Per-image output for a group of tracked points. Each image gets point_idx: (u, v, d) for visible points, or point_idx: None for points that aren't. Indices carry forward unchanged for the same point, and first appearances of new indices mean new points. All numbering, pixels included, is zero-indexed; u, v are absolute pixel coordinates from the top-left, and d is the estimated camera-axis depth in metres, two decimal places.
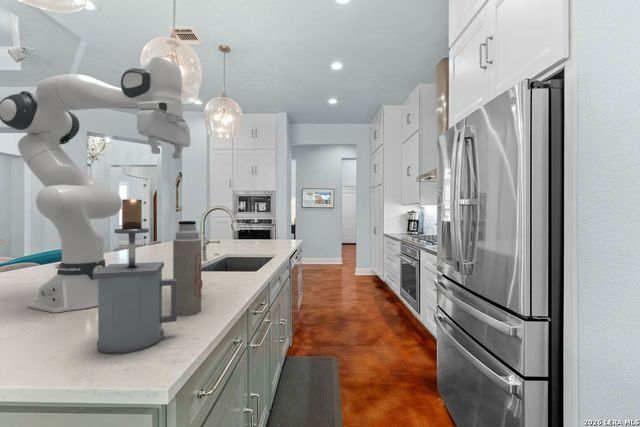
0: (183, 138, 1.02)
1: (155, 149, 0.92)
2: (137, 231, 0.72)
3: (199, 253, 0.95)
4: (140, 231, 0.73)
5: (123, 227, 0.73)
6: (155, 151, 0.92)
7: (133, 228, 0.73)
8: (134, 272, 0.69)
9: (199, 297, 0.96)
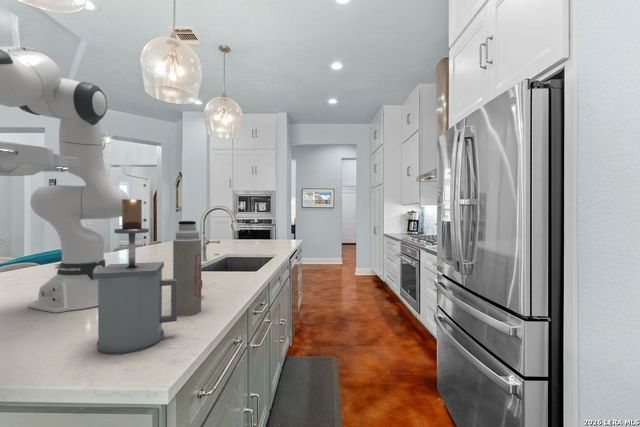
0: (33, 167, 0.57)
1: None
2: (137, 231, 0.72)
3: (199, 253, 0.95)
4: (140, 231, 0.73)
5: (123, 227, 0.73)
6: None
7: (133, 228, 0.73)
8: (134, 272, 0.69)
9: (199, 297, 0.96)
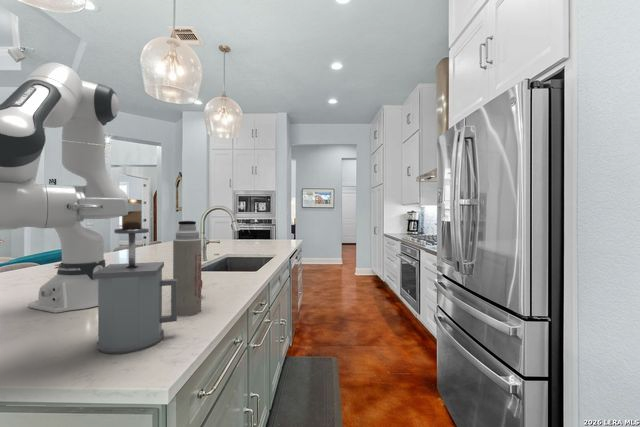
0: None
1: None
2: (137, 231, 0.72)
3: (199, 253, 0.95)
4: (140, 231, 0.73)
5: (123, 227, 0.73)
6: None
7: (133, 228, 0.73)
8: (134, 272, 0.69)
9: (199, 297, 0.96)
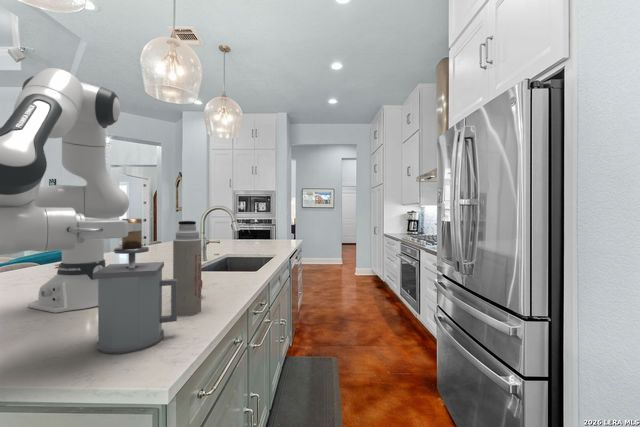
0: None
1: None
2: (137, 251, 0.72)
3: (199, 253, 0.95)
4: (140, 251, 0.73)
5: (123, 247, 0.73)
6: None
7: (133, 248, 0.73)
8: (134, 272, 0.69)
9: (199, 297, 0.96)
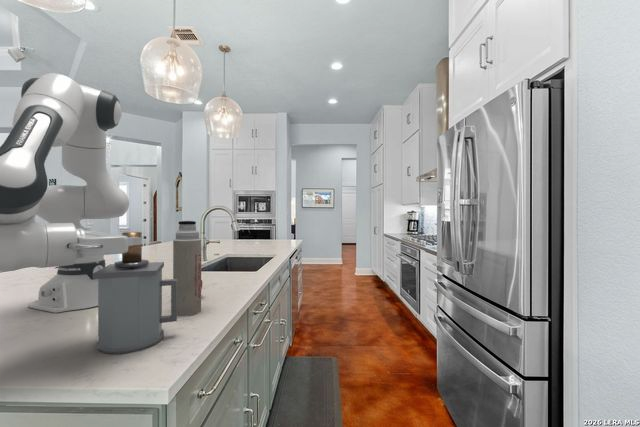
0: None
1: None
2: (137, 265, 0.72)
3: (199, 253, 0.95)
4: (140, 265, 0.73)
5: (123, 261, 0.73)
6: None
7: (133, 261, 0.73)
8: (134, 272, 0.69)
9: (199, 297, 0.96)
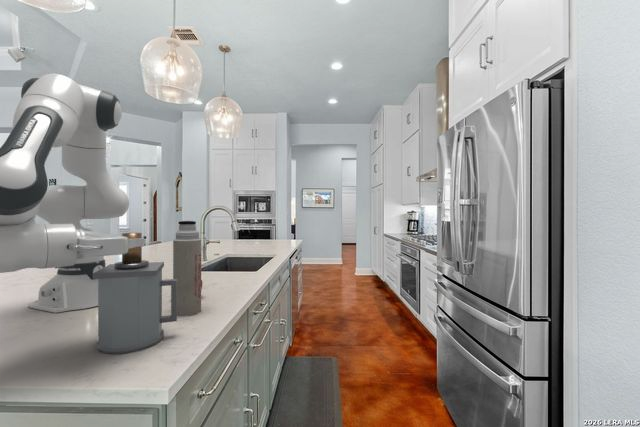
0: None
1: None
2: (137, 266, 0.72)
3: (199, 253, 0.95)
4: (140, 265, 0.73)
5: (123, 261, 0.73)
6: None
7: (133, 262, 0.73)
8: (134, 272, 0.69)
9: (199, 297, 0.96)
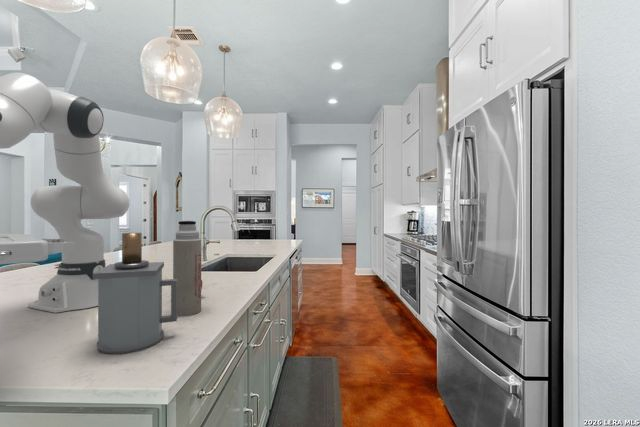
0: None
1: None
2: (137, 266, 0.72)
3: (199, 253, 0.95)
4: (140, 265, 0.73)
5: (123, 261, 0.73)
6: None
7: (133, 262, 0.73)
8: (134, 272, 0.69)
9: (199, 297, 0.96)
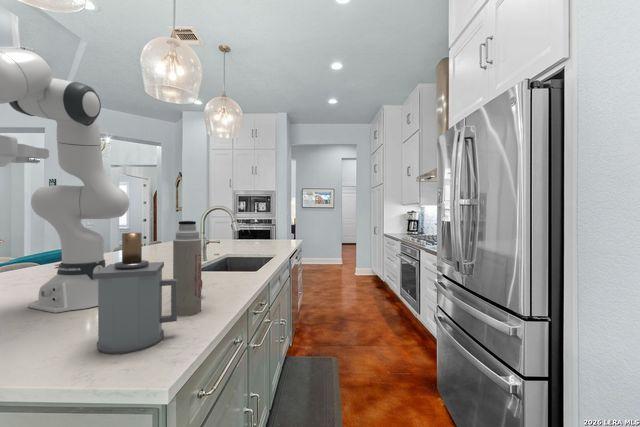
0: None
1: None
2: (137, 266, 0.72)
3: (199, 253, 0.95)
4: (140, 265, 0.73)
5: (123, 261, 0.73)
6: None
7: (133, 262, 0.73)
8: (134, 272, 0.69)
9: (199, 297, 0.96)
